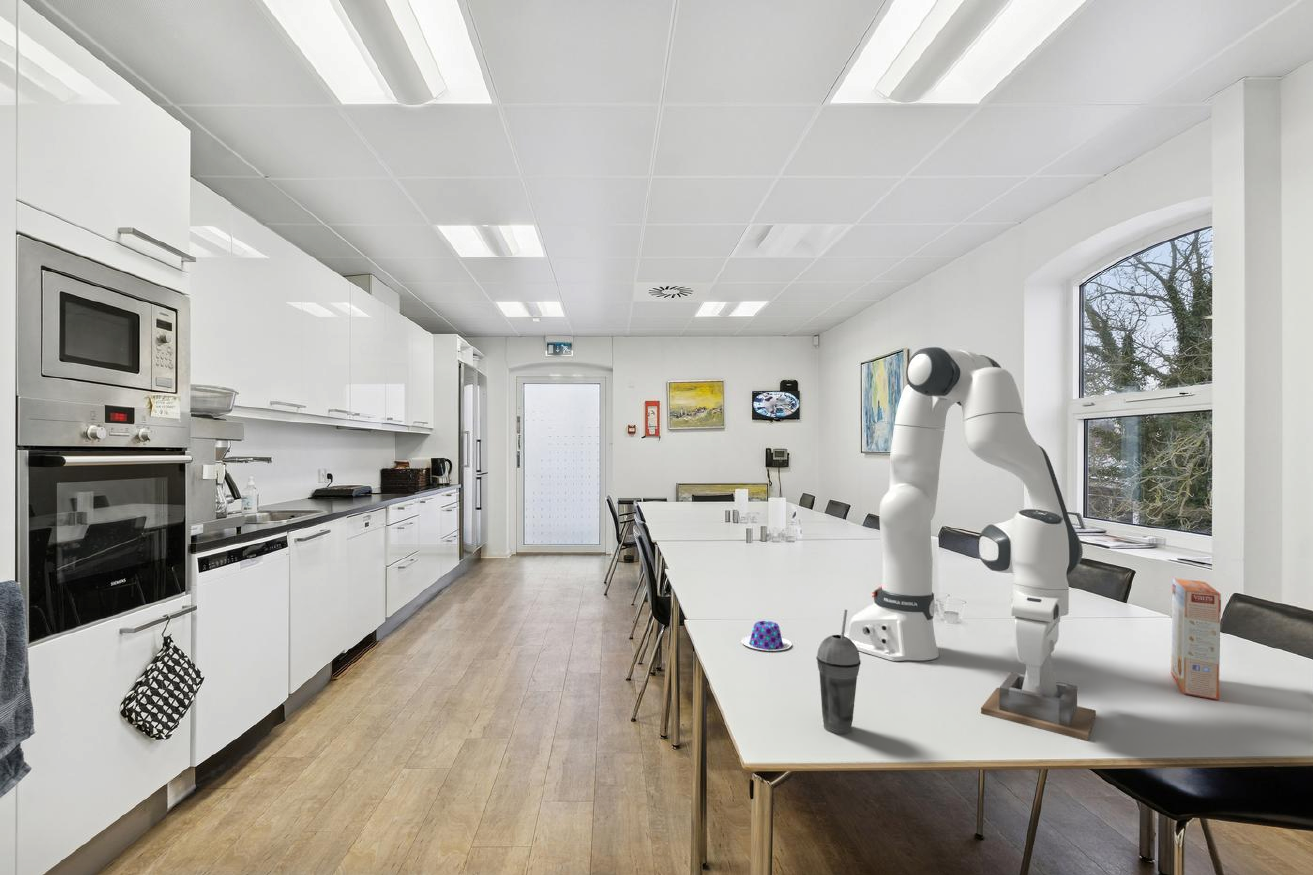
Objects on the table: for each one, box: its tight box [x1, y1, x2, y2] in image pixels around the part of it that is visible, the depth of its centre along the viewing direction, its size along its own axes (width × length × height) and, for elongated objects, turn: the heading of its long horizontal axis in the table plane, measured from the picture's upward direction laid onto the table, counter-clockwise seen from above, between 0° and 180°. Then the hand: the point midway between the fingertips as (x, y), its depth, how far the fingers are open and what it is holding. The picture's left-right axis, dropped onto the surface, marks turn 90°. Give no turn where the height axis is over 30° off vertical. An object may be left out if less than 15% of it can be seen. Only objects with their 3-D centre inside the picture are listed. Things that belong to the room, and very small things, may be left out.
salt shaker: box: [1022, 640, 1059, 698], centre depth 114 cm, size 6×6×13 cm
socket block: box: [980, 671, 1097, 742], centre depth 114 cm, size 16×13×5 cm
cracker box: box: [1170, 578, 1222, 701], centre depth 129 cm, size 14×6×21 cm, turn 148°
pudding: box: [740, 620, 793, 652], centre depth 152 cm, size 12×12×5 cm
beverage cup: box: [815, 609, 862, 735], centre depth 107 cm, size 7×7×20 cm
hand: (1038, 677), depth 114 cm, fingers open, 8 cm apart
